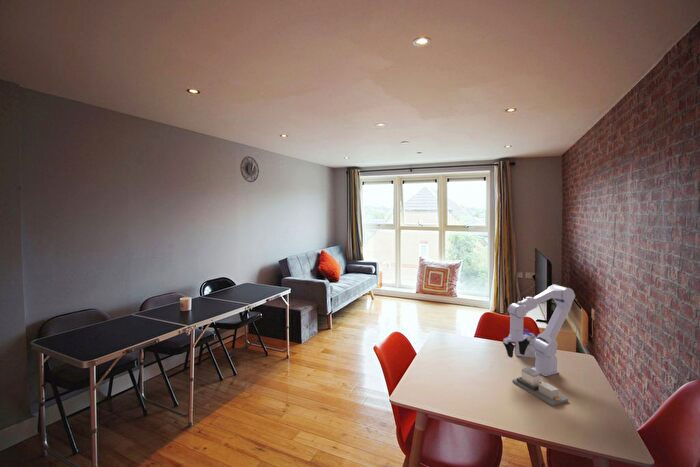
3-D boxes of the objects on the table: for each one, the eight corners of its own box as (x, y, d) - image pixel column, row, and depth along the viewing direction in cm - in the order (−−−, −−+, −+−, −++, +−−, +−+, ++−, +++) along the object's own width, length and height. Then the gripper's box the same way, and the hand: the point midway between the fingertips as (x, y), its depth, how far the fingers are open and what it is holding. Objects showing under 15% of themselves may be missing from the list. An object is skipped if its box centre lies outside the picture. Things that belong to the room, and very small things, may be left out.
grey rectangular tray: (526, 378, 150) (526, 369, 150) (568, 401, 132) (568, 391, 131) (512, 382, 147) (512, 372, 147) (552, 406, 129) (553, 395, 128)
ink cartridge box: (533, 354, 176) (534, 328, 175) (535, 358, 171) (536, 332, 170) (513, 351, 179) (514, 327, 179) (515, 356, 174) (516, 330, 173)
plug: (528, 379, 147) (528, 367, 147) (539, 386, 141) (540, 373, 141) (521, 381, 146) (521, 368, 145) (533, 388, 140) (533, 375, 140)
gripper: (520, 323, 159) (520, 349, 160) (498, 327, 155) (498, 354, 155) (533, 328, 153) (532, 355, 154) (510, 332, 148) (509, 360, 149)
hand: (516, 355), depth 154 cm, fingers open, 7 cm apart
